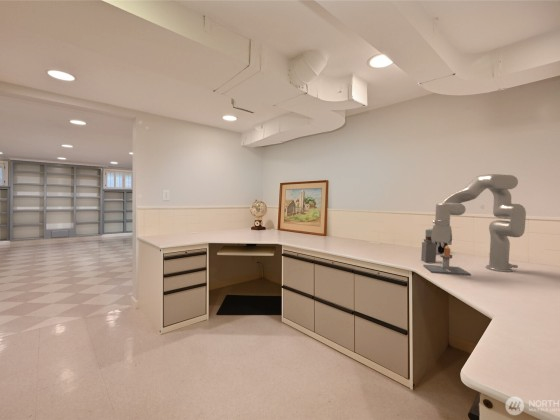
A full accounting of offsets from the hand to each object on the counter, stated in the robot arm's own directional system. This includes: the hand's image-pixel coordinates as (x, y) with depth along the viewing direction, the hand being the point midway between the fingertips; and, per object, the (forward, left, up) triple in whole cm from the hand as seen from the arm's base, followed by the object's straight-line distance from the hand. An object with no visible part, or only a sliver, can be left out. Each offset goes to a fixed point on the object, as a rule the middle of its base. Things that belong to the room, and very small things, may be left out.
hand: (440, 253), depth 157 cm
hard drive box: (-16, -62, -12) cm, 65 cm away
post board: (-5, -6, -12) cm, 14 cm away
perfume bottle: (-2, -28, -12) cm, 30 cm away
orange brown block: (-5, -6, -3) cm, 8 cm away
